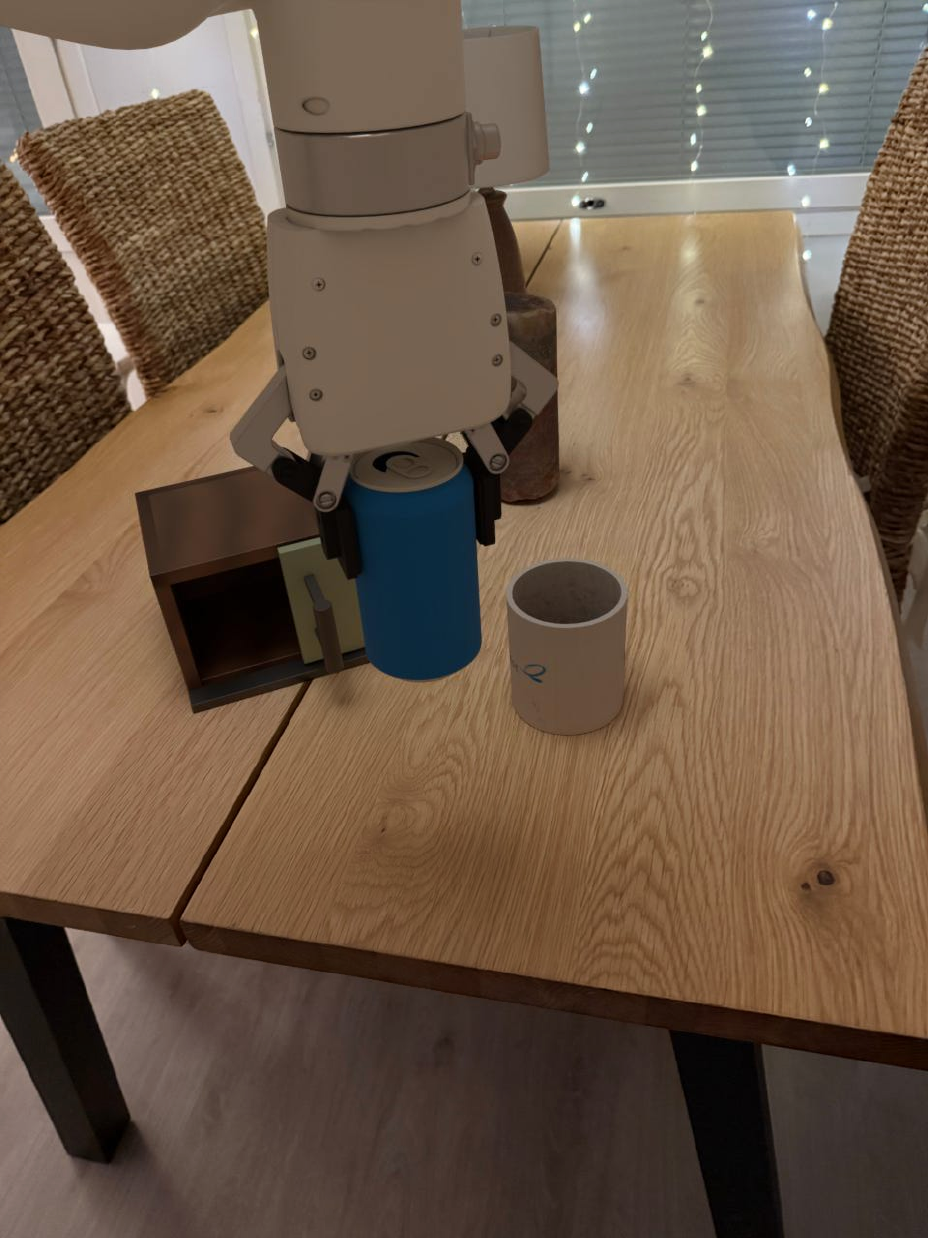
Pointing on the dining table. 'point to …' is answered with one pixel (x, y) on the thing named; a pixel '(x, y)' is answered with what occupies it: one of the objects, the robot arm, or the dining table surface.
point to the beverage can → (416, 558)
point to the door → (321, 604)
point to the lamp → (507, 125)
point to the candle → (539, 448)
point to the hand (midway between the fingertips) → (413, 546)
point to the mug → (567, 644)
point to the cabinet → (229, 582)
